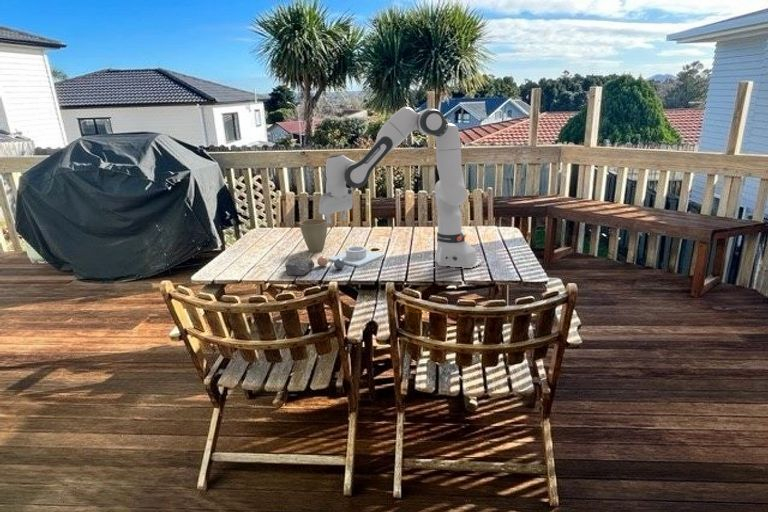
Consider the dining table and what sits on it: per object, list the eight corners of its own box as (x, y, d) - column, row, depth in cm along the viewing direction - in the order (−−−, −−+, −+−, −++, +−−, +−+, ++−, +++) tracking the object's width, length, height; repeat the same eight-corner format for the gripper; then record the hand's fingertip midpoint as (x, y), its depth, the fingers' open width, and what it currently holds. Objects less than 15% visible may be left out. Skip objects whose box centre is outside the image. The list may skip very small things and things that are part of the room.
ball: (330, 265, 217) (329, 255, 215) (323, 268, 213) (322, 258, 211) (322, 263, 220) (322, 254, 218) (315, 266, 216) (314, 256, 214)
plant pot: (313, 245, 253) (311, 217, 248) (335, 248, 246) (333, 219, 241) (296, 252, 241) (293, 223, 236) (318, 255, 234) (315, 225, 229)
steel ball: (347, 268, 212) (346, 258, 210) (340, 271, 208) (339, 261, 206) (339, 266, 215) (338, 256, 213) (332, 269, 211) (331, 259, 209)
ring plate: (384, 256, 228) (383, 246, 227) (359, 267, 213) (358, 256, 212) (354, 250, 240) (353, 241, 238) (328, 260, 225) (327, 251, 223)
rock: (305, 277, 202) (317, 268, 216) (304, 264, 200) (317, 255, 214) (279, 275, 205) (293, 266, 219) (278, 262, 203) (292, 253, 217)
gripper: (326, 194, 191) (326, 226, 195) (355, 189, 208) (355, 219, 211) (315, 193, 194) (315, 224, 198) (344, 188, 211) (344, 217, 215)
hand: (336, 221), depth 205 cm, fingers open, 8 cm apart
